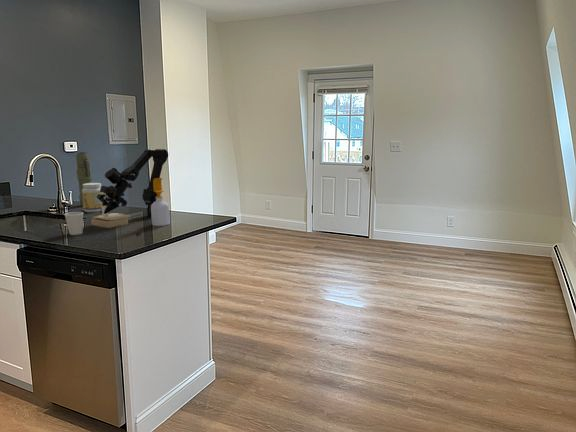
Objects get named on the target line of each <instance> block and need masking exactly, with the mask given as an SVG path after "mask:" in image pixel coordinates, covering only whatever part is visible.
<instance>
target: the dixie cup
mask: <svg viewBox="0 0 576 432" xmlns="http://www.w3.org/2000/svg"><path fill="white" fill-rule="evenodd" d="M64 217H65V221H66V225H67V229H68V232H69V235H71V236H77V235H82V234H83V228H84V226H83V225H84V212H83V211H71V212H70V211H69V212H66V213H64Z"/></svg>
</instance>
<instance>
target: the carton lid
mask: <svg viewBox="0 0 576 432" xmlns="http://www.w3.org/2000/svg"><path fill="white" fill-rule="evenodd" d="M106 207H107V206H101V208H102V213H101V215H95V216H93V218H92V219H94V218H97V219H103V220H109V221H111V220H116V219H121V218H126V217H127V218H130V217H132V215H131V214H130V215H129V214H123V213H117V212H112V213H109V212H108V213H106V214H104V211H105V209H106Z"/></svg>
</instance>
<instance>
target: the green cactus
mask: <svg viewBox="0 0 576 432" xmlns="http://www.w3.org/2000/svg"><path fill="white" fill-rule="evenodd" d="M75 157H76V158H75V159H76V165H77V167H76V168H77V169H76V178H77V181H78V189H79V195H78V197H79V204H80V207H83V198H82V189H83V184H86V183H93V182H92V180H93V173H92V170H91V166H90V165H91V164H90V156H89V154H88V153H87V152H85V151H83V152H78V153H76V156H75Z"/></svg>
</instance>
